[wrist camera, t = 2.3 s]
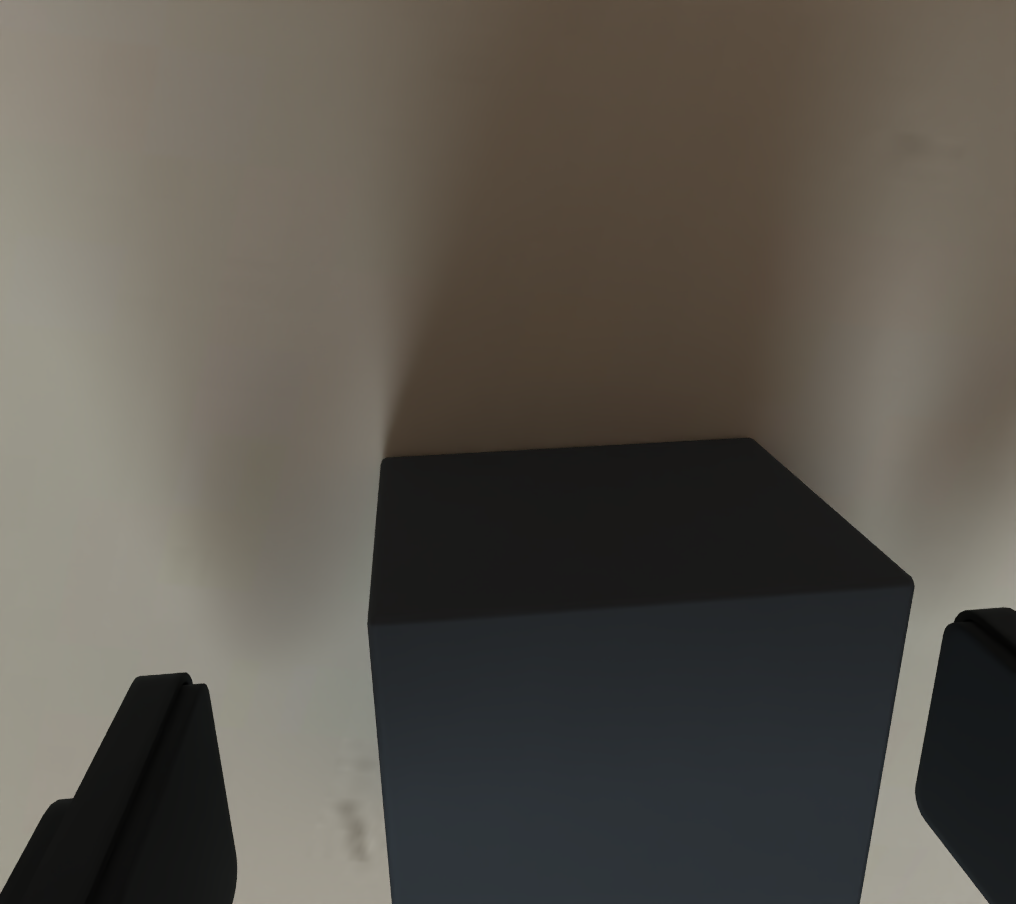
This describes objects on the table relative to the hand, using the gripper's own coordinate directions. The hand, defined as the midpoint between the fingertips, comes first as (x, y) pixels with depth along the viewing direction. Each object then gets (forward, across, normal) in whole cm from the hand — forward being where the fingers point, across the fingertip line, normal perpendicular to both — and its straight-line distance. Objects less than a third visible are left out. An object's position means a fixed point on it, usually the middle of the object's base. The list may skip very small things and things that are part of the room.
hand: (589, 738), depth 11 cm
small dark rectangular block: (+2, 0, 0) cm, 2 cm away
